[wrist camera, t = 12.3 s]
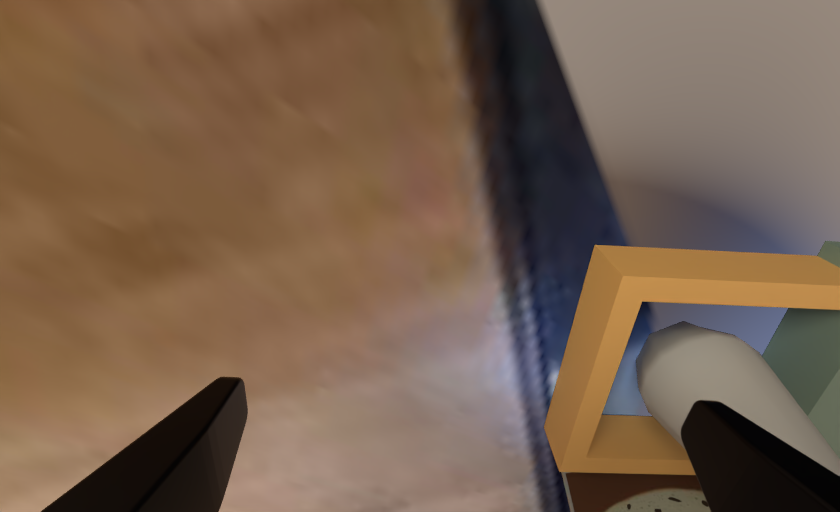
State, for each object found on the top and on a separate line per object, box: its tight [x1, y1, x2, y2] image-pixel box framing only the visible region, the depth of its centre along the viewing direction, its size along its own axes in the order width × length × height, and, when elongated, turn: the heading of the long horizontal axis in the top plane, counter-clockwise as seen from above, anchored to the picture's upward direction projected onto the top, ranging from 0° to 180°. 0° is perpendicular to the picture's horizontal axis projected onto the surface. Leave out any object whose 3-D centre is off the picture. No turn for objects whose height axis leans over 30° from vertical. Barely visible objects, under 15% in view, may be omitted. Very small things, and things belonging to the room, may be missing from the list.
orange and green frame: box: [544, 241, 840, 475], centre depth 22 cm, size 14×21×4 cm, turn 86°
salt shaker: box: [636, 321, 840, 476], centre depth 17 cm, size 6×6×13 cm
